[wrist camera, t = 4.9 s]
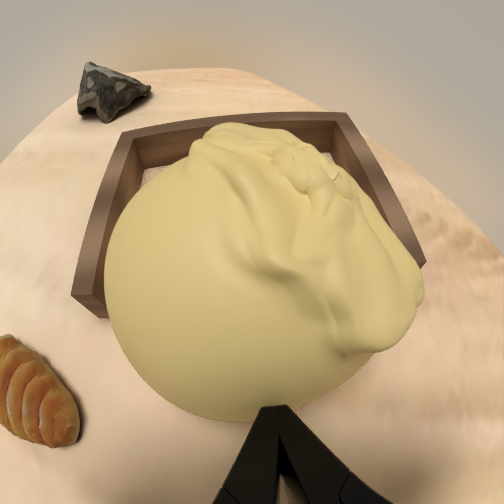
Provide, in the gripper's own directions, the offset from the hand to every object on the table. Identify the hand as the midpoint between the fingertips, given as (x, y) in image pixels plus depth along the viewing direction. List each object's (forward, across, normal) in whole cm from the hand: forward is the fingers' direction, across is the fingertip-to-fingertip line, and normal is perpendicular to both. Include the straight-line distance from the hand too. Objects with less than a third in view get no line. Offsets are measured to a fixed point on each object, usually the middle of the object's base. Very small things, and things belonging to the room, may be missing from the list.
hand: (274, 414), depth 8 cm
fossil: (+31, +16, -21) cm, 41 cm away
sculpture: (+9, 0, +1) cm, 9 cm away
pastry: (+5, +16, +5) cm, 18 cm away
